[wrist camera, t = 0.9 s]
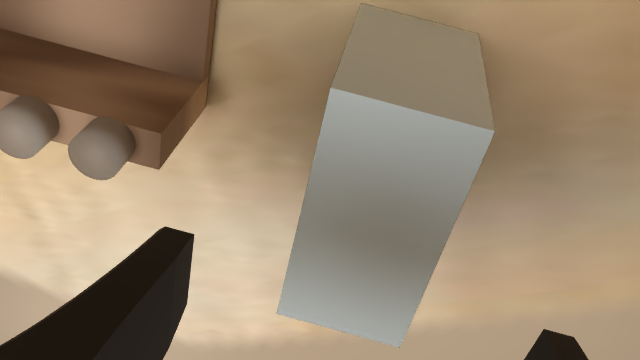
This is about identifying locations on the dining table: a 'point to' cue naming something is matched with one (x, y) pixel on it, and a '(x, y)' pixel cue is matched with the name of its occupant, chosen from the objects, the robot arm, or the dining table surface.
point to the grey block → (387, 174)
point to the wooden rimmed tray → (103, 78)
